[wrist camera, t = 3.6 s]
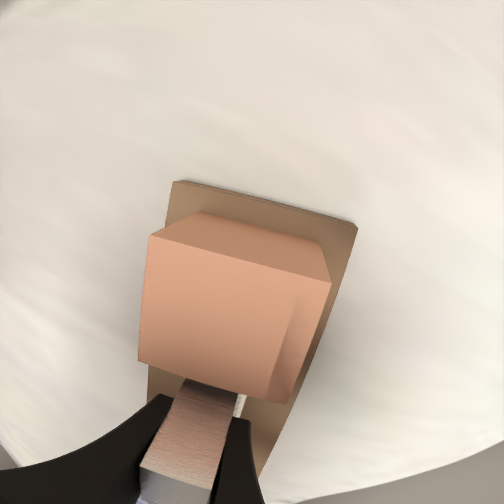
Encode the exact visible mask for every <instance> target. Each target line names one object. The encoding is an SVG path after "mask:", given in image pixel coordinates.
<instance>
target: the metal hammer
mask: <svg viewBox="0 0 504 504" xmlns="http://www.w3.org/2000/svg"><path fill="white" fill-rule="evenodd" d="M246 397H247V395H243V394H239V393H235V392H232V391H228V390H225V389H221V388H218V387H214V386H211V385H207V384H204V383H201V382H198V381H195V380H191V379H188V378H185V379H184V382H183V384H182V386H181V388H180V389H179V391H178V393H177V395H176V397H175V399H174V401H173V403H172V406H171V408H170V410H169V412H168V414H167V416H166V417H165V418H164V420H163V422H162V424H161V426H160V428H159V430H158V431H157V433H156V435H155V437H154V439H153V441H152V443H151V445H150V447H149V449H148V451H147V452H146V454H145V456H144V458H143V460H142V462H141V464H140V466H139V468H140V487H141V500H143V501H146V502H148V503H151V504H207V501H208V499H210V496H211V490H212V486H213V482H214V479H215V475H216V472H217V468H218V465H219V462H220V458H221V455H222V451H223V448H224V444H225V441H226V435H227V431H228V428H229V424H230V421H231V419H232V416H234V417H238V418H240V416H241V412H242V409H243V406H244V403H245V400H246Z"/></svg>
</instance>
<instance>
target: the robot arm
mask: <svg viewBox="0 0 504 504" xmlns="http://www.w3.org/2000/svg"><path fill="white" fill-rule="evenodd" d="M174 399H175V398H172V397H169V396H166V395H164V394H161V393H159V394H157V395H156V396H155V397H154V398H153V399H152V400H150V401H149V402H148V403H147V404H146V405H145V406H144V407H143V408H141V409H140V410H139V411H138V412H136V413H135V414H134V415H133V416H131V417H130V418H129V419H127V420H126V421H125V422H123V423H122V424H121V425H119V426H118V427H116V428H115V429H113V430H112V431H110V432H109V433H107V434H105V435H104V436H102V437H101V438H99V439H97V440H95V441H94V442H92V443H90V444H88V445H86V446H84V447H82V448H80V449H78V450H75V451H73V452H71V453H68V454H66V455H63V456H61V457H58V458H55V459H52V460H49V461H45V462H42V463H38V464H34V465H31V466H26V467H21V468H14V469H7V470H0V504H149V503H148V502H146V501H143V500H141V487H140V468H139V466H140V464H141V462H142V460H143V458H144V456H145V454H146V452H147V451H148V449H149V447H150V445H151V443H152V441H153V439H154V437H155V435H156V433H157V431H158V430H159V428H160V426H161V424H162V422H163V420H164V418H165V417H166V416H167V414H168V412H169V410H170V408H171V406H172V403H173V401H174ZM209 504H265V503H264V500H263V497H262V493H261V490H260V486H259V483H258V478H257V474H256V469H255V464H254V459H253V452H252V444H251V422H250V421H249V420H246V419H242V418H238V417H234V416H232V419H231V421H230V424H229V428H228V431H227V435H226V441H225V444H224V448H223V451H222V455H221V458H220V462H219V465H218V468H217V472H216V475H215V479H214V482H213V486H212V490H211V496H210V501H209Z"/></svg>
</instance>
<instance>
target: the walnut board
mask: <svg viewBox="0 0 504 504" xmlns="http://www.w3.org/2000/svg"><path fill="white" fill-rule="evenodd" d="M198 211H199V212H203V213H207V214H211V215H215V216H219V217H223V218H227V219H231V220H235V221H239V222H243V223H247V224H251V225H255V226H259V227H263V228H267V229H271V230H274V231H278V232H282V233H286V234H290V235H293V236H297V237H301V238H305V239H308V240H312V241H316V242H320V245H321V249H322V252H323V255H324V258H325V262H326V265H327V268H328V272H329V275H330V279H331V282H332V285H331V288H330V291H329V294H328V297H327V299H326V302H325V305H324V308H323V311H322V314H321V317H320V319H319V322H318V325H317V328H316V330H315V333H314V336H313V338H312V341H311V344H310V346H309V349H308V352H307V354H306V357H305V359H304V362H303V364H302V367H301V369H300V372H299V374H298V377H297V379H296V382H295V384H294V387H293V389H292V392H291V394H290V396H289V399H288V401H287V403H286V405H284V404H280V403H275V402H271V401H267V400H263V399H259V398H255V397H251V396H247V397H246V400H245V403H244V406H243V409H242V412H241V416H240V418H242V419H246V420H249V421H250V422H251V444H252V452H253V459H254V464H255V469H256V474H257V478H258V477H259V475H260V473H261V471H262V469H263V467H264V465H265V463H266V461H267V459H268V457H269V455H270V453H271V451H272V449H273V447H274V445H275V443H276V441H277V439H278V437H279V435H280V432H281V430H282V428H283V426H284V424H285V422H286V420H287V417H288V415H289V413H290V411H291V409H292V406H293V404H294V402H295V400H296V397H297V395H298V393H299V390H300V388H301V386H302V383H303V381H304V379H305V376H306V374H307V372H308V369H309V367H310V364H311V362H312V359H313V357H314V354H315V352H316V349H317V347H318V344H319V342H320V339H321V336H322V334H323V331H324V329H325V326H326V323H327V321H328V318H329V315H330V312H331V310H332V307H333V304H334V301H335V298H336V296H337V293H338V290H339V287H340V284H341V281H342V278H343V275H344V272H345V269H346V266H347V263H348V260H349V257H350V254H351V250H352V247H353V244H354V241H355V237H356V234H357V231H358V228H357V227H356V226H355V225H354V224H353V223H350V222H346V221H343V220H339V219H336V218H332V217H329V216H325V215H322V214H318V213H314V212H311V211H307V210H303V209H299V208H296V207H292V206H288V205H284V204H280V203H276V202H273V201H269V200H265V199H261V198H257V197H253V196H248V195H244V194H240V193H236V192H232V191H228V190H223V189H219V188H215V187H210V186H206V185H201V184H197V183H192V182H188V181H183V180H181V181H174V182H173V184H172V189H171V194H170V200H169V206H168V211H167V217H166V223H165V227H167V226H169V225H171V224H173V223H175V222H177V221H179V220H181V219H184V218H186V217H188V216H190V215H192V214H194V213H196V212H198ZM184 379H185V377H182V376H179V375H176V374H173V373H170V372H168V371H165V370H162V369H159V368H156V367H153V366H151V365H149V372H148V390H147V403H148V402H149V401H150V400H152V399H153V398H154V397H155V396H156V395H157V394H159V393H161V394H164V395H166V396H169V397H172V398H175V397H176V395H177V393H178V391H179V389H180V388H181V386H182V384H183V382H184Z"/></svg>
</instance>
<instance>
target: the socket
mask: <svg viewBox="0 0 504 504" xmlns="http://www.w3.org/2000/svg"><path fill="white" fill-rule="evenodd" d="M331 285H332V282H331V279H330V275H329V272H328V268H327V265H326V262H325V258H324V255H323V252H322V249H321V245H320V242H316V241H312V240H308V239H305V238H301V237H297V236H293V235H290V234H286V233H282V232H278V231H274V230H271V229H267V228H263V227H259V226H255V225H251V224H247V223H243V222H239V221H235V220H231V219H227V218H223V217H219V216H215V215H211V214H207V213H203V212H199V211H198V212H196V213H194V214H192V215H190V216H188V217H186V218H184V219H181V220H179V221H177V222H175V223H173V224H171V225H169V226H167V227H165V228H163V229H161V230H159V231H157V232H155V233H153V234H151V235H150V236H149V244H148V251H147V259H146V267H145V276H144V285H143V296H142V306H141V319H140V332H139V349H138V361H140V362H143V363H145V364H148V365H151V366H153V367H156V368H159V369H162V370H165V371H168V372H170V373H173V374H176V375H179V376H182V377H185V378H188V379H191V380H195V381H198V382H201V383H204V384H207V385H211V386H214V387H218V388H221V389H225V390H228V391H232V392H235V393H239V394H243V395H247V396H251V397H255V398H259V399H263V400H267V401H271V402H275V403H280V404H284V405H286V403H287V401H288V399H289V396H290V394H291V392H292V389H293V387H294V384H295V382H296V379H297V377H298V374H299V372H300V369H301V367H302V364H303V362H304V359H305V357H306V354H307V352H308V349H309V346H310V344H311V341H312V338H313V336H314V333H315V330H316V328H317V325H318V322H319V319H320V317H321V314H322V311H323V308H324V305H325V302H326V299H327V297H328V294H329V291H330V288H331Z"/></svg>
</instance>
